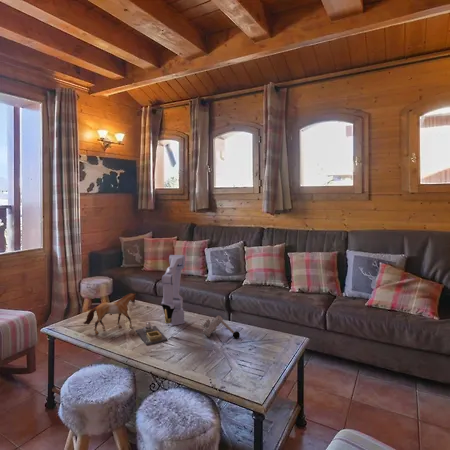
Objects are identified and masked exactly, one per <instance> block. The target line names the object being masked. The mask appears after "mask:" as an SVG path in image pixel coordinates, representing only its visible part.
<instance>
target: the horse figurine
mask: <svg viewBox="0 0 450 450" xmlns="http://www.w3.org/2000/svg"><path fill="white" fill-rule="evenodd" d="M136 296H137V293H136V292H130V293H127V294H125V295H124V296H122V297H121V298H120V299H118V300H117V301H116V302H108V301H107V302H106V301H105V302H102V303H100V304H98V305H97V306H95V307H93V308H92V309H91V310H89V312H88V314H87V315H86V320H85V321H83V323H82V324H84V325H90V324H91V322H92V321H93V319H94V317H95V313H96V316H97V319H96V321H95V323H94V329H93V330H94V333H95V334H99V331H98V329H97V326H98V325H99V323H100V325H101V326H102V330H105V328H106V326H105V324H104V323H103V318H104V317H105V316H106V315H118V316H117V326H118V328H122V325H121V324H120V320H121V316H122V315H123V316H124V317H125V318H127V319H128V321H129V327H130V328H133V327H132V325H133V323H132V320H131V317H130V315H129V313H128V311H129V308H128V305H129V303H130V301H131V303H132V304H133V305H135V304H136V298H137V297H136Z"/></svg>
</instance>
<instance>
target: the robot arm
mask: <svg viewBox="0 0 450 450" xmlns="http://www.w3.org/2000/svg"><path fill="white" fill-rule="evenodd" d="M168 262H169V263H168V264H169V266H168V267H167V268H166V270H165V272H164V274H162V276H161V286H162V296H163V297H162V298H161V307H162V310H163V313H164V314H163V315H165V309H166V312H167V318H168V319H169V318H172V322H171V323H169V324H168V325H169V326H170V327H174V326H178V325H183V324H186V322H185V311H184V308H183V304H184V302H183V300H184V299H183V296H181V295H180V287H181V279H182V277H181V275H182V270H183V269H185V266H186V255H184V254H169V257H168Z"/></svg>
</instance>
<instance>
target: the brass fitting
mask: <svg viewBox="0 0 450 450" xmlns="http://www.w3.org/2000/svg"><path fill="white" fill-rule="evenodd" d="M171 322H172V318H169V319H168V318H167V312H166V309H165V314H164V324H167V325H169V323H171Z"/></svg>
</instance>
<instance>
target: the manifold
mask: <svg viewBox="0 0 450 450" xmlns="http://www.w3.org/2000/svg"><path fill="white" fill-rule="evenodd" d="M135 332H136V334H137V335H138V336H139V337H140V339H141V340H142V342H143V343H144V344H145V345H146V346H149V345H153V344H154V345H155V344H159V343H162V342H167V341H168V338H167V337H166V336H165V335H164V334H163V332H162V331H161V330H160V329H159V328H158V327H157V326H156V325H151V322H150V321H147V322H146V324H145V326H144V327H142V328H138V329H135Z"/></svg>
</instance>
